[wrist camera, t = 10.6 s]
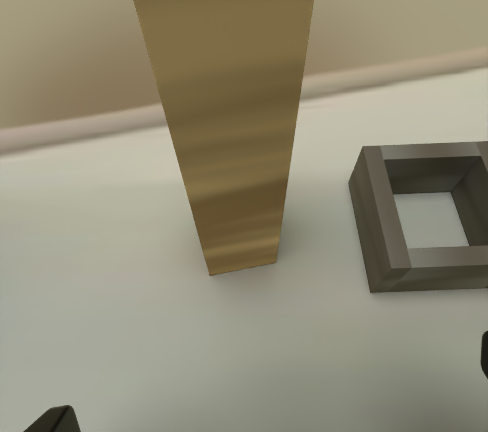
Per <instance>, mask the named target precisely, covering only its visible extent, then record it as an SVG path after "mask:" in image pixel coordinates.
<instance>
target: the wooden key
mask: <svg viewBox="0 0 488 432" xmlns="http://www.w3.org/2000/svg"><path fill="white" fill-rule="evenodd" d="M133 1H134V4H135V8H136V11H137V15H138V18H139V22H140V26H141V29H142V33H143V36H144V40H145V44H146V47H147V51H148V55H149V58H150V62H151V66H152V69H153V73H154V76H155V80H156V84H157V87H158V91H159V94H160V98H161V102H162V105H163V109H164V112H165V116H166V120H167V123H168V127H169V131H170V134H171V138H172V141H173V145H174V149H175V152H176V156H177V159H178V163H179V167H180V170H181V174H182V178H183V181H184V185H185V188H186V192H187V196H188V199H189V203H190V206H191V210H192V214H193V217H194V221H195V224H196V228H197V232H198V235H199V239H200V243H201V246H202V250H203V253H204V257H205V261H206V264H207V268H208V271H209V275H215V274H220V273H225V272H230V271H235V270H240V269H245V268H250V267H255V266H260V265H266V264H271V263H276V259H277V252H278V245H279V238H280V232H281V225H282V218H283V211H284V204H285V197H286V190H287V183H288V176H289V169H290V162H291V155H292V149H293V142H294V135H295V128H296V121H297V114H298V107H299V100H300V93H301V86H302V79H303V72H304V65H305V59H306V51H307V45H308V38H309V31H310V24H311V17H312V10H313V3H314V0H133Z"/></svg>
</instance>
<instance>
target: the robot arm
mask: <svg viewBox="0 0 488 432" xmlns="http://www.w3.org/2000/svg"><path fill="white" fill-rule="evenodd" d="M481 367H482V370H483V372H484V374H485V376H486V377H487V378H488V331H486V332H484V334H483V336H482V347H481ZM24 432H81V431H80V428H79V425H78V421H77V418H76V415H75V412H74V409H73V408H72V406H70V405H65V406H59V407H53V408H50V409H49V410H47V411H46V412H45V413H44V414H43V415H42V416H41V417H39V418H38V419H37V420H36V421H35V422H34V423H33V424H32V425H30V426H29V427H28V428H27V429H26V430H25V431H24Z"/></svg>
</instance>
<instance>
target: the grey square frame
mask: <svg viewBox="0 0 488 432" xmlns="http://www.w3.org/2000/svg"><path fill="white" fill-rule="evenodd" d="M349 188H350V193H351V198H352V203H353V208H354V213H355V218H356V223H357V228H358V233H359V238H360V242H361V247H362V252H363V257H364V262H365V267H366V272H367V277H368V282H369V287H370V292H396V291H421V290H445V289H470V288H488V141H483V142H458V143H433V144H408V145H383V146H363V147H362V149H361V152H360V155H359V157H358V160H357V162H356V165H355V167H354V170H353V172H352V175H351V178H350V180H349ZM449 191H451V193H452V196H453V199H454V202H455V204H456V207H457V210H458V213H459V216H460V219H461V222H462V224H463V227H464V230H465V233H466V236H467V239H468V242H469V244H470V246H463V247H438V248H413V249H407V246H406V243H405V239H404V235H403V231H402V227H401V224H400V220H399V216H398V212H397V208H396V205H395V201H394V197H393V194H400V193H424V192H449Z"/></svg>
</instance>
